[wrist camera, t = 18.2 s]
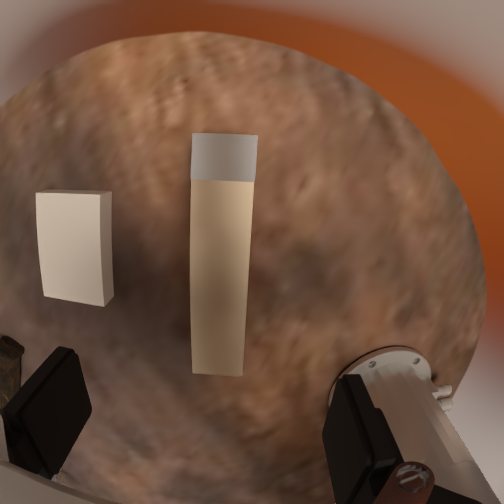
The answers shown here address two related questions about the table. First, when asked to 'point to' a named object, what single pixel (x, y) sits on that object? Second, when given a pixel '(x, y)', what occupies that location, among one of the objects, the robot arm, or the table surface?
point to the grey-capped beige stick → (220, 249)
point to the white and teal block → (75, 245)
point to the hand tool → (9, 369)
